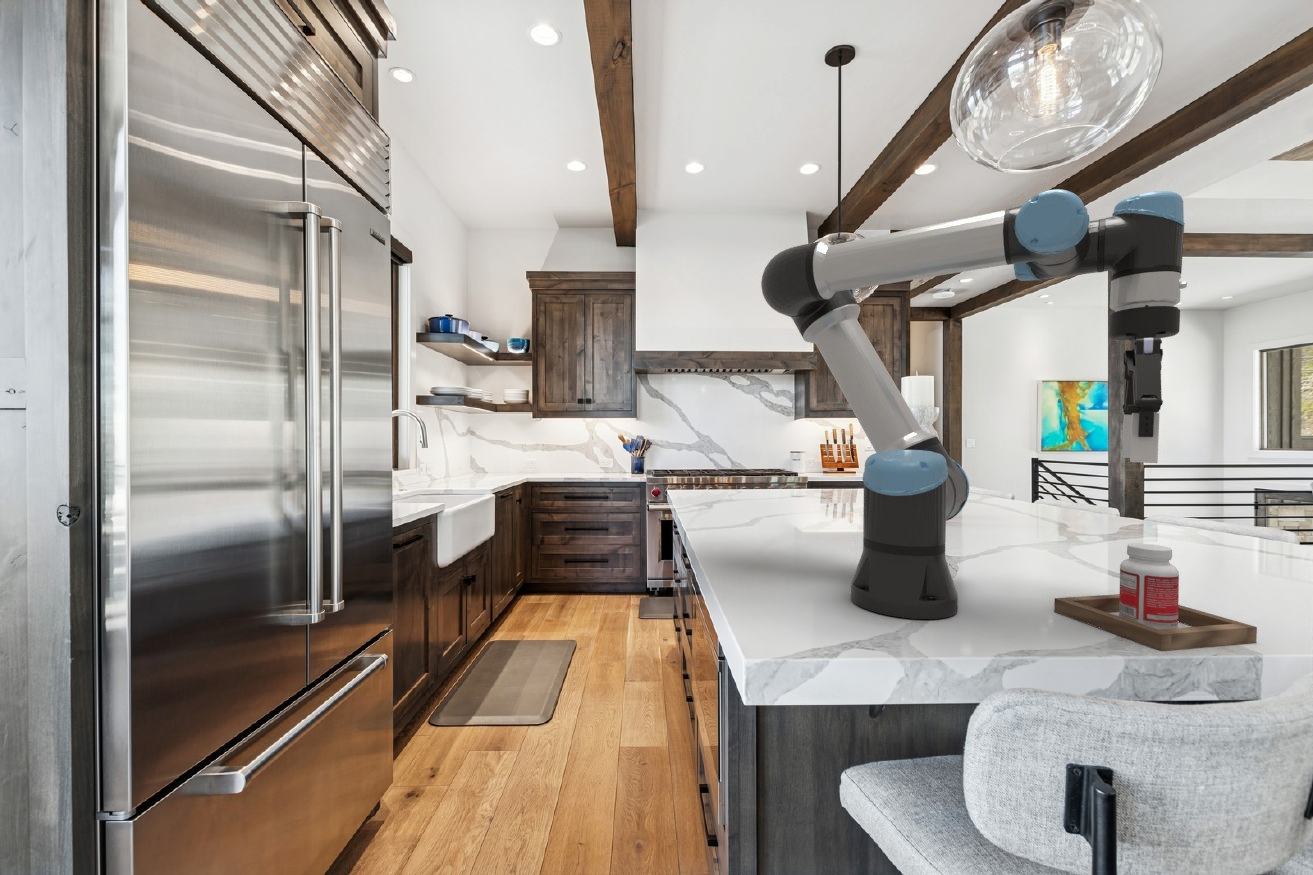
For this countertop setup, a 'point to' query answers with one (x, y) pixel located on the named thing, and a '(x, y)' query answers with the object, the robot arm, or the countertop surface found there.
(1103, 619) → the brown wooden square frame
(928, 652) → the countertop surface
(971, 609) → the countertop surface
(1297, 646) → the countertop surface
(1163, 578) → the pill bottle
